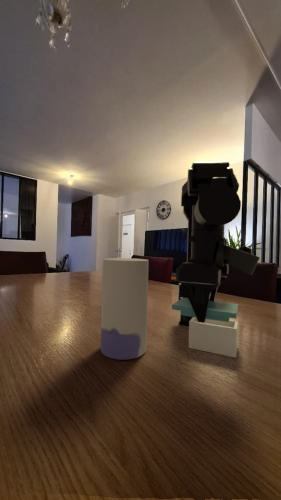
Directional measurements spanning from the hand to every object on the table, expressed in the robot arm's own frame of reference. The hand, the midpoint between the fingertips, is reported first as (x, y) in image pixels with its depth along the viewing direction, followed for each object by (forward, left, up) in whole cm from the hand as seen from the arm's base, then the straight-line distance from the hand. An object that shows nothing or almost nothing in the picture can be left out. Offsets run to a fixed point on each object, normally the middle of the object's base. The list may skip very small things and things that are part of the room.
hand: (205, 316), depth 42 cm
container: (-17, +1, -10) cm, 20 cm away
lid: (0, 0, +1) cm, 1 cm away
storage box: (0, +12, -10) cm, 16 cm away
